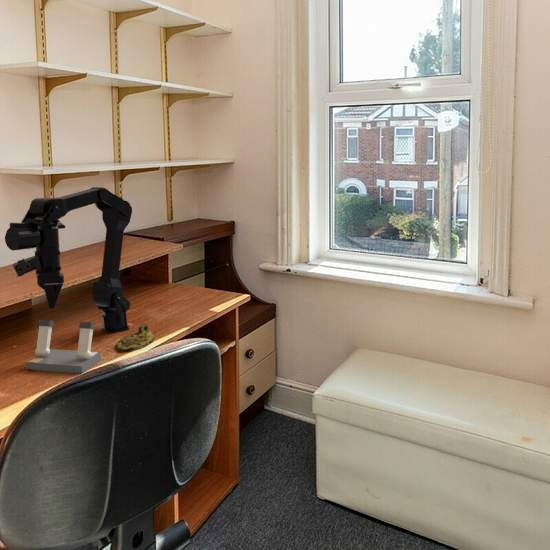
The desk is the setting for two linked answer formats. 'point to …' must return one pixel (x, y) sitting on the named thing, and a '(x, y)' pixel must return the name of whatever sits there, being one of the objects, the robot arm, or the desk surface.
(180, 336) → the desk surface
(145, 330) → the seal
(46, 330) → the left lever
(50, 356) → the switch base
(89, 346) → the right lever
